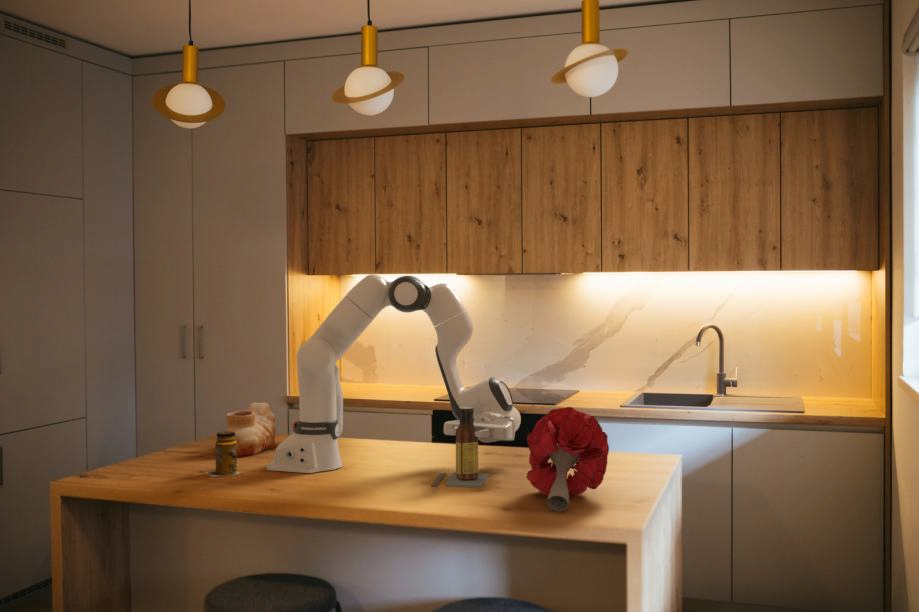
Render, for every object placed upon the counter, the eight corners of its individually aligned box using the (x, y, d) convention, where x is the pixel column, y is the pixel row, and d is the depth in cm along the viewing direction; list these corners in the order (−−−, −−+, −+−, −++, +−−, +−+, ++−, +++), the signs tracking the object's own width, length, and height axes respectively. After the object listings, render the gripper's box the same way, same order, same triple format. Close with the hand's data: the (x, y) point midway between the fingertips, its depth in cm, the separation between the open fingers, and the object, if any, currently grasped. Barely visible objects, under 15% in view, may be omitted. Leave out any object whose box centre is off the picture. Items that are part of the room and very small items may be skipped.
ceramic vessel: (286, 444, 302) (285, 400, 302) (251, 458, 277) (251, 411, 276) (249, 442, 305) (248, 399, 305) (212, 457, 280) (211, 410, 279)
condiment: (241, 474, 254) (241, 432, 254) (212, 477, 250) (212, 435, 250) (233, 469, 261) (232, 429, 260) (204, 473, 256) (204, 432, 256)
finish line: (431, 486, 237) (431, 485, 237) (441, 473, 253) (441, 472, 253) (436, 486, 237) (436, 485, 237) (446, 473, 253) (446, 472, 253)
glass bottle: (307, 441, 306) (307, 361, 305) (330, 437, 313) (330, 359, 313) (325, 445, 299) (324, 363, 298) (348, 441, 307) (348, 361, 306)
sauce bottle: (482, 477, 245) (483, 407, 244) (471, 482, 240) (472, 410, 239) (462, 474, 248) (463, 404, 247) (450, 478, 243) (452, 407, 242)
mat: (445, 486, 237) (445, 484, 237) (453, 474, 252) (453, 472, 252) (481, 487, 236) (481, 485, 236) (488, 475, 250) (488, 473, 250)
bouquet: (609, 537, 212) (614, 455, 237) (598, 463, 200) (605, 385, 225) (522, 537, 217) (536, 457, 242) (506, 465, 206) (522, 388, 231)
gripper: (456, 413, 260) (433, 419, 248) (519, 418, 250) (497, 424, 238) (456, 434, 260) (433, 442, 248) (519, 440, 250) (497, 448, 238)
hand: (465, 433), depth 243 cm, fingers closed on sauce bottle, 6 cm apart
